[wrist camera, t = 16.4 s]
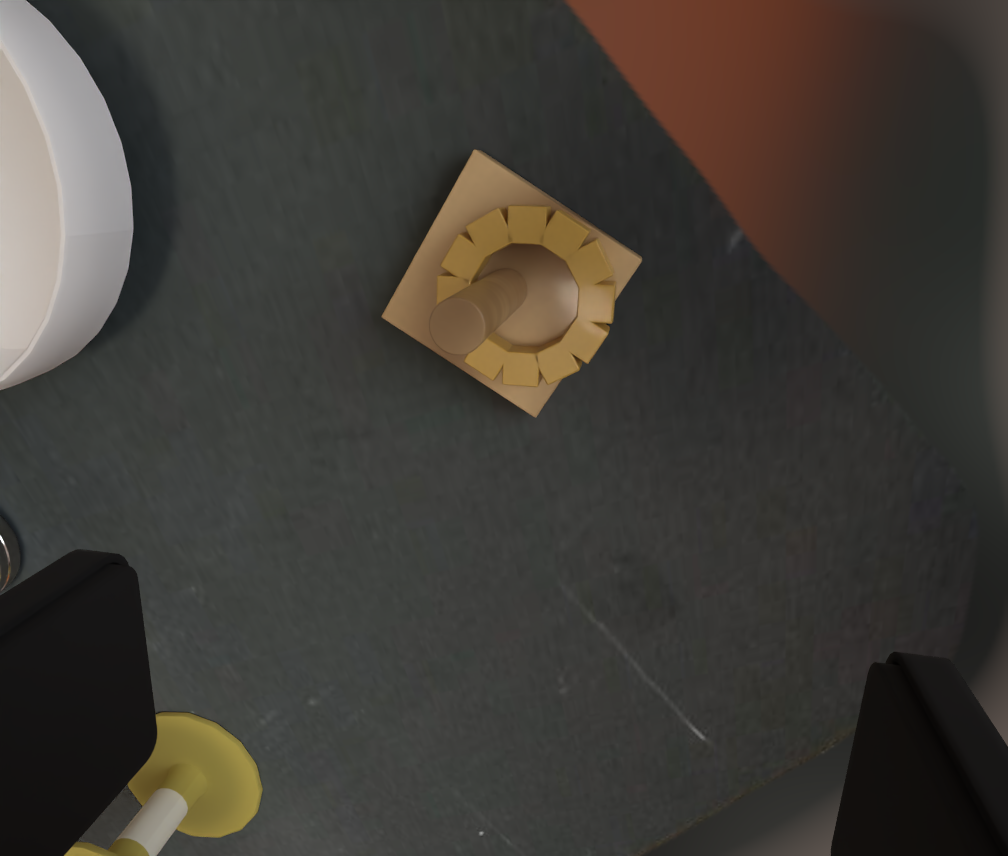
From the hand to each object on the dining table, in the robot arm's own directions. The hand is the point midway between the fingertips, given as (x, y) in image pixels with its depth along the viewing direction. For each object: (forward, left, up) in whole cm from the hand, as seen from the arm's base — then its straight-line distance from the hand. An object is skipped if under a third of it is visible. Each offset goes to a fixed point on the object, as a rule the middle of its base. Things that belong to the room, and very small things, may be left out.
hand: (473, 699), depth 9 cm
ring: (+3, 0, -27) cm, 27 cm away
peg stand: (+4, +1, -29) cm, 29 cm away
